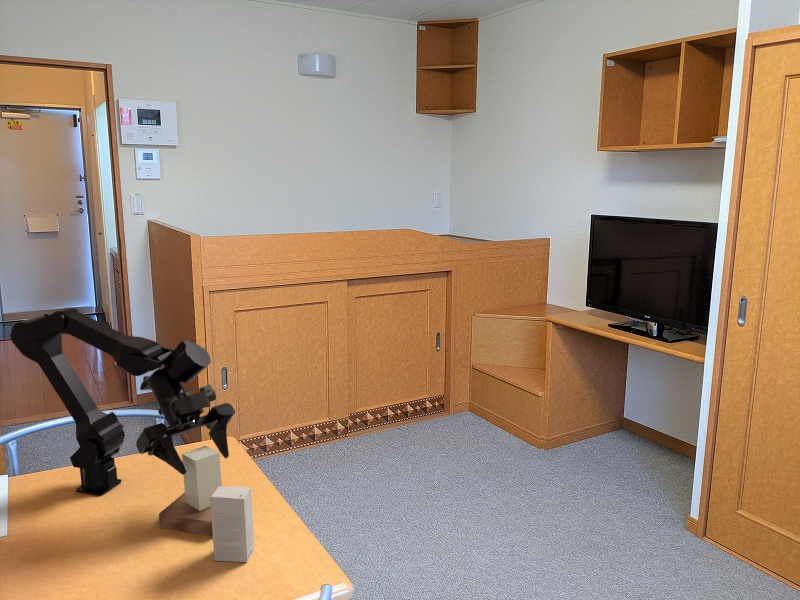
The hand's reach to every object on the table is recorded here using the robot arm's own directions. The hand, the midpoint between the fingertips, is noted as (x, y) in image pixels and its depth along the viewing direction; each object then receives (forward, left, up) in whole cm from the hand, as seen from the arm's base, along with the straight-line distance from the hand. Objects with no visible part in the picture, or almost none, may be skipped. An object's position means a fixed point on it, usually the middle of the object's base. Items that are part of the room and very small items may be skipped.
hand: (206, 465), depth 124 cm
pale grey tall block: (-1, 0, -8) cm, 8 cm away
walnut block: (-1, +1, -12) cm, 12 cm away
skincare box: (+11, -9, -11) cm, 18 cm away
